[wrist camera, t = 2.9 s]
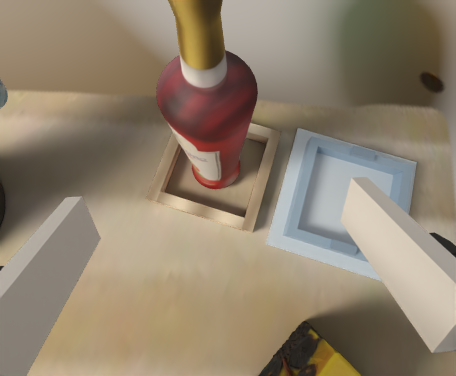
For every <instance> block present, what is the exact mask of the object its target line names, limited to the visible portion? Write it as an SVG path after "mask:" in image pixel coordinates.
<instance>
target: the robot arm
mask: <svg viewBox="0 0 456 376" xmlns="http://www.w3.org/2000/svg"><path fill="white" fill-rule="evenodd" d="M7 97H8V95H7V90H6V87H5V85H4V84H3V82H2V81H1V79H0V108H2V107H3V106H4V105H5V103H6V102H7ZM4 210H5V198H4V192H3V189H2V186H1V184H0V225H1V222H2V219H3V216H4ZM340 221H341V223H342V224H343V226H344V227H345V229H346V230H347V231H348V233H349V234H350V236H351V237H352V239H353V240H354V241H355V243H356V244H357V246H358V247H359V249H360V250H361V252H362V253H363V254H364V256H365V257H366V259H367V260H368V262H369V263H370V265H371V266H372V267H373V269H374V270H375V272H376V273H377V275H378V276H379V277H380V279H381V280H382V282H383V283H384V285H385V286H386V288H387V289H388V290H389V292H390V293H391V295H392V296H393V298H394V299H395V300H396V302H397V303H398V305H399V306H400V308H401V309H402V311H403V312H404V313H405V315H406V316H407V318H408V319H409V321H410V322H411V324H412V325H413V326H414V328H415V329H416V331H417V332H418V334H419V335H420V336H421V338H422V339H423V341H424V342H425V344H426V345H427V347H428V348H429V349H430V351H431V352H432V353H437V352H449V351H455V350H456V246H455V245H454V244H453V243H452V242H450V241H449V240H447V239H445V238H443V237H441V236H440V235H438V234H436V233H428V232H427V231H426V230H425V229H424V228H422V227H421V226H420V225H419V224H418V223H417V222H416V221H415V220H414V219H413V218H411V217H410V216H409V215H408V214H407V213H406V212H405V211H404V210H403V209H402V208H400V207H399V206H398V205H397V204H396V203H395V202H394V201H393V200H392V199H391V198H389V197H388V196H387V195H386V194H385V193H384V192H383V191H382V190H381V189H380V188H378V187H377V186H376V185H375V184H374V183H373V182H372V181H371V180H370V179H369V178H368V177H355V178H351V181H350V185H349V189H348V193H347V197H346V201H345V205H344V208H343V212H342V216H341V220H340ZM100 239H101V238H100V236H99V234H98V231H97V229H96V227H95V224H94V222H93V220H92V218H91V215H90V213H89V211H88V208H87V206H86V204H85V202H84V199H83V197H82V196H80V197H66V198H65V199H64V200H63V201H62V202H61V204H60V205H59V206H58V207H57V208H56V209H55V210H54V211H53V213H52V214H51V215H50V216H49V217H48V218H47V219H46V220H45V221H44V223H43V224H42V225H41V226H40V227H39V228H38V229H37V230H36V232H35V233H34V234H33V235H32V236H31V237H30V238H29V239H28V240H27V242H26V243H25V244H24V245H23V246H22V247H21V248H20V249H19V251H18V252H17V253H16V254H15V255H14V256H13V257H12V258H11V259H10V261H9V262H8V263H7V264H6V265H5V266H0V376H26V375H27V373H28V371H29V370H30V368H31V366H32V364H33V362H34V360H35V359H36V357H37V355H38V353H39V351H40V349H41V348H42V346H43V344H44V342H45V340H46V338H47V337H48V335H49V333H50V331H51V329H52V327H53V325H54V324H55V322H56V320H57V318H58V316H59V314H60V313H61V311H62V309H63V307H64V305H65V303H66V302H67V300H68V298H69V296H70V294H71V292H72V290H73V289H74V287H75V285H76V283H77V281H78V279H79V278H80V276H81V274H82V272H83V270H84V268H85V267H86V265H87V263H88V261H89V259H90V257H91V256H92V254H93V252H94V250H95V248H96V246H97V244H98V243H99V241H100Z"/></svg>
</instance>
